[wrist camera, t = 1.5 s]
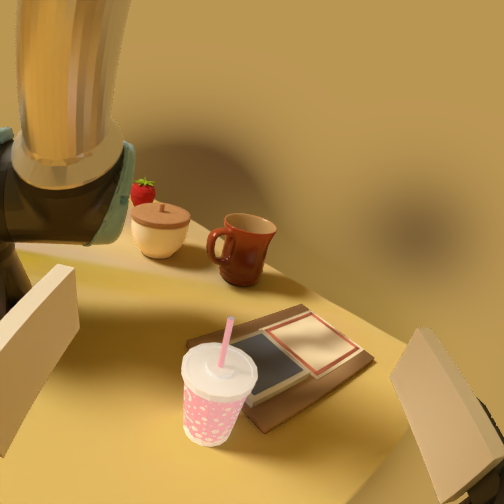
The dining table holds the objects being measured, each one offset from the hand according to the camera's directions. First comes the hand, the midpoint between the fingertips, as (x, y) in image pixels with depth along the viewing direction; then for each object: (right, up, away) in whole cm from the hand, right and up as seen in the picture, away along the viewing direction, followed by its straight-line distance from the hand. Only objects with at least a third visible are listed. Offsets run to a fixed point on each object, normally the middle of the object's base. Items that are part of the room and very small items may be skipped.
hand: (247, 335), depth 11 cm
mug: (-3, -2, +45) cm, 45 cm away
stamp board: (+5, -11, +29) cm, 31 cm away
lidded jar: (-17, +3, +48) cm, 51 cm away
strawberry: (-26, +12, +63) cm, 69 cm away
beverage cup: (-4, -14, +17) cm, 23 cm away
